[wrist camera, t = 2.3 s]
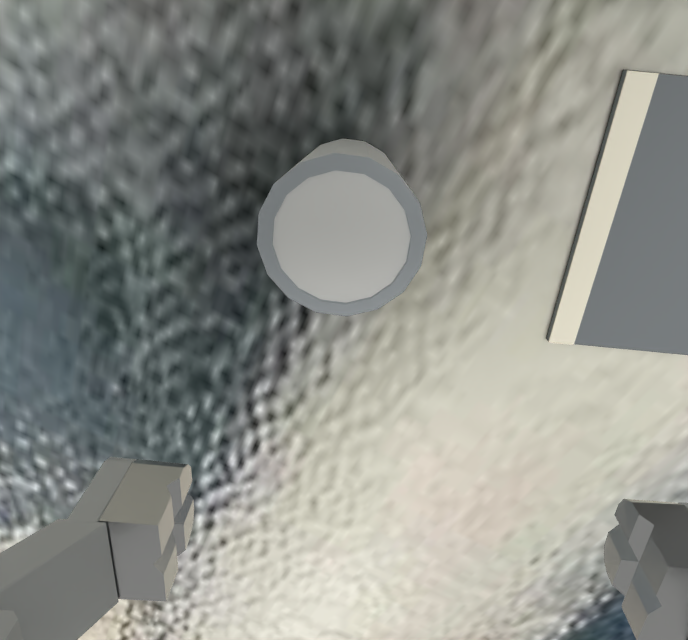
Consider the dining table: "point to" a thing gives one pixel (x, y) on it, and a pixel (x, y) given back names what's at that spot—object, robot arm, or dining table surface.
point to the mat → (633, 227)
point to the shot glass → (342, 230)
